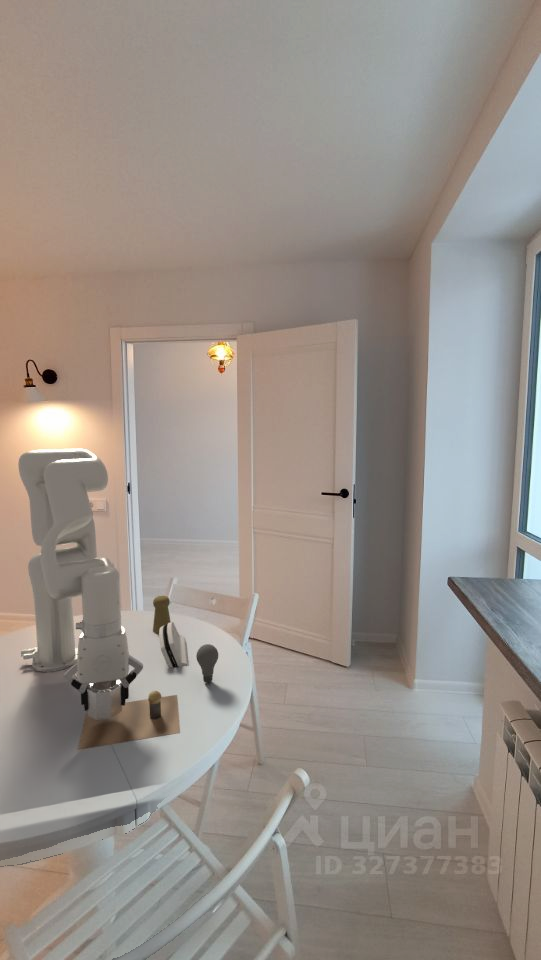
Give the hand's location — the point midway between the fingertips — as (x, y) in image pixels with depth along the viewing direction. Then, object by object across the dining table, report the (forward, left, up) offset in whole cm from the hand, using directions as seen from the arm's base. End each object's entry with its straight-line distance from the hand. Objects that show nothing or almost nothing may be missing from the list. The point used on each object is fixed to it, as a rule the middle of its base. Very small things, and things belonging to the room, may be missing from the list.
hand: (105, 703), depth 97 cm
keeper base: (+5, -1, -6) cm, 8 cm away
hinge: (+15, +28, -6) cm, 33 cm away
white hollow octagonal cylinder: (0, 0, -1) cm, 1 cm away
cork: (+12, +47, -6) cm, 49 cm away
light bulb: (+23, +12, -6) cm, 27 cm away
